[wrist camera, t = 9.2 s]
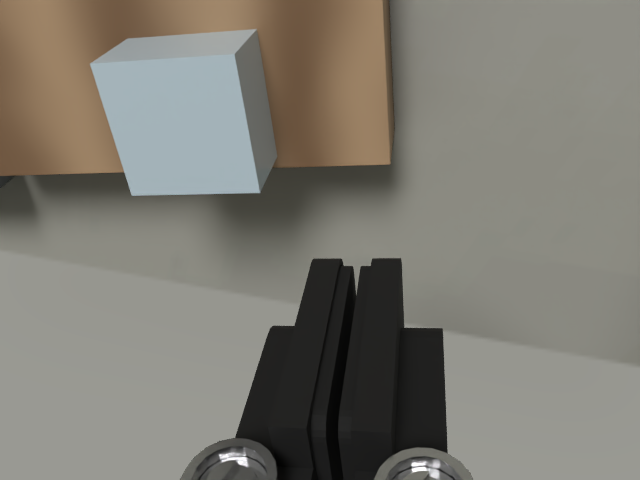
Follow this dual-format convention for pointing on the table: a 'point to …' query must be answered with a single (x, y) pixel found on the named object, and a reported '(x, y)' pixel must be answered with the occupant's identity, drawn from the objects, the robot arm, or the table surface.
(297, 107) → the board
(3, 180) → the box
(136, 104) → the pale blue block
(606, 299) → the table surface
